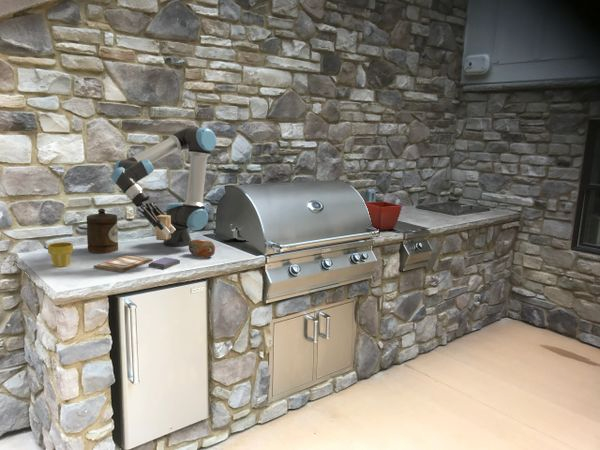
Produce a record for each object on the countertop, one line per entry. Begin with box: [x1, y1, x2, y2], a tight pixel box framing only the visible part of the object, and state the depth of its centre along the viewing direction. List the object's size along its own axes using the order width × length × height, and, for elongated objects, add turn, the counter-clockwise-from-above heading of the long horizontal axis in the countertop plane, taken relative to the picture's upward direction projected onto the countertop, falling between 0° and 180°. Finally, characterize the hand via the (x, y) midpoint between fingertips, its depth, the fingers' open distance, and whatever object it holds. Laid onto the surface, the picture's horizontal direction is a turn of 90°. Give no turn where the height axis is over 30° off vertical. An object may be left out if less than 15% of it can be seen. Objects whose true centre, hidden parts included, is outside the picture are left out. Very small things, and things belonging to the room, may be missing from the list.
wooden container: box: [86, 208, 119, 255], centre depth 254 cm, size 15×15×22 cm
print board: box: [93, 254, 154, 274], centre depth 232 cm, size 22×16×1 cm
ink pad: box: [148, 256, 181, 270], centre depth 233 cm, size 12×9×2 cm
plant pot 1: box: [47, 241, 74, 268], centre depth 227 cm, size 10×10×10 cm
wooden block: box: [155, 215, 171, 241], centre depth 230 cm, size 5×5×11 cm
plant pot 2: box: [364, 201, 403, 231], centre depth 336 cm, size 19×19×17 cm
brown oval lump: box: [188, 239, 216, 259], centre depth 251 cm, size 15×3×8 cm, turn 64°
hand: (171, 232), depth 230 cm, fingers closed on wooden block, 5 cm apart
